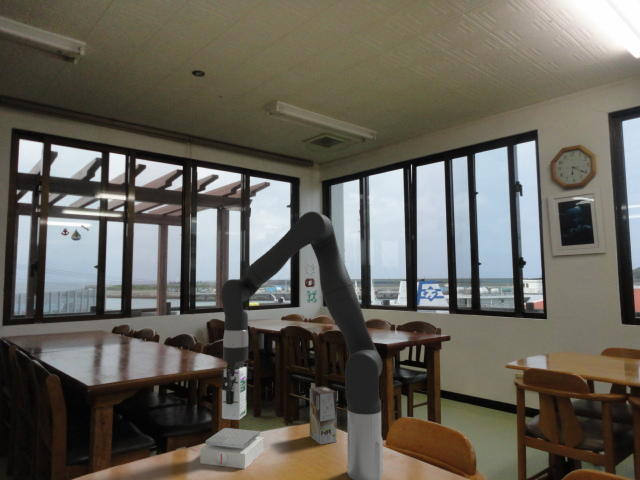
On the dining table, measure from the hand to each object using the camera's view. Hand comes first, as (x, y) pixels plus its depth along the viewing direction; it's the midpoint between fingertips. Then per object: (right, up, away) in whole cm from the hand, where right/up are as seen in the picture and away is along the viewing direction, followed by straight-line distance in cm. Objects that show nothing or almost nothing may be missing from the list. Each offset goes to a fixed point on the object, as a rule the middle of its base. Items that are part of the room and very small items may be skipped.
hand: (234, 401), depth 136 cm
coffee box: (+27, -18, +14) cm, 35 cm away
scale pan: (0, -11, -1) cm, 11 cm away
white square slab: (0, -16, -1) cm, 16 cm away
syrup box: (0, -5, 0) cm, 5 cm away
